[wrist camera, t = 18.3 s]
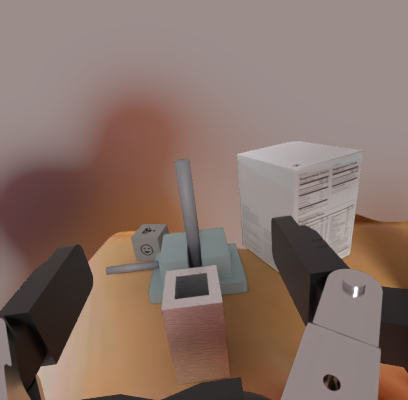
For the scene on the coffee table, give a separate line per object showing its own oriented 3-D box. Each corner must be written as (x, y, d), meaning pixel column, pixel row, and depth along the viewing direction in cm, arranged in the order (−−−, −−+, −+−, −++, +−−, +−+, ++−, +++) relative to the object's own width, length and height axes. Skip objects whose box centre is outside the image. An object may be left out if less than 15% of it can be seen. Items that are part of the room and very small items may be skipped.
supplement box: (352, 254, 43) (367, 149, 36) (291, 285, 38) (295, 169, 31) (293, 224, 54) (296, 139, 47) (240, 244, 49) (235, 153, 42)
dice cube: (147, 246, 52) (142, 224, 50) (170, 246, 51) (166, 224, 49) (136, 261, 48) (131, 237, 46) (162, 262, 47) (157, 238, 45)
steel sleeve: (223, 332, 32) (216, 265, 28) (230, 377, 27) (222, 302, 23) (179, 338, 32) (166, 271, 28) (177, 384, 27) (161, 310, 23)
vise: (235, 252, 47) (228, 147, 40) (247, 291, 37) (240, 163, 30) (119, 266, 46) (90, 163, 39) (102, 309, 37) (60, 185, 30)
